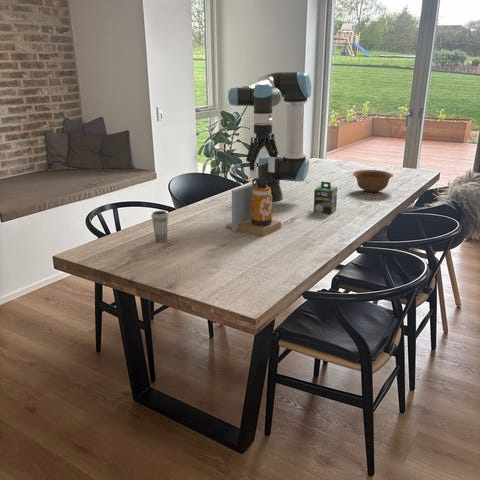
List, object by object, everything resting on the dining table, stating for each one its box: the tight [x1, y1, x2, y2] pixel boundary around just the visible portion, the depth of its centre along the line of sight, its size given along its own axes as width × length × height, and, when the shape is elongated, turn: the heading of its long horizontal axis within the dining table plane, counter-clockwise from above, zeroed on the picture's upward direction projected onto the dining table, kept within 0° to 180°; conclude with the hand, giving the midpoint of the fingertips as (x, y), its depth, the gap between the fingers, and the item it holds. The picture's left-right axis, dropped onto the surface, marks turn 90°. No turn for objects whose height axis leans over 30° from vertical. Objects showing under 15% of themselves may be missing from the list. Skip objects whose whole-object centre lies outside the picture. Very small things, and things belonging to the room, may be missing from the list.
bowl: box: [352, 169, 394, 195], centre depth 275 cm, size 22×22×11 cm
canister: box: [251, 176, 273, 225], centre depth 211 cm, size 9×11×20 cm
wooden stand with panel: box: [225, 182, 282, 237], centre depth 216 cm, size 20×24×18 cm
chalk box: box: [313, 181, 338, 215], centre depth 239 cm, size 9×9×15 cm
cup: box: [150, 210, 169, 243], centre depth 199 cm, size 7×7×12 cm
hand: (262, 174), depth 207 cm, fingers open, 13 cm apart
